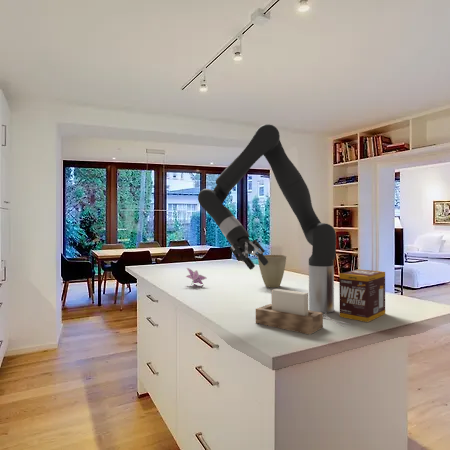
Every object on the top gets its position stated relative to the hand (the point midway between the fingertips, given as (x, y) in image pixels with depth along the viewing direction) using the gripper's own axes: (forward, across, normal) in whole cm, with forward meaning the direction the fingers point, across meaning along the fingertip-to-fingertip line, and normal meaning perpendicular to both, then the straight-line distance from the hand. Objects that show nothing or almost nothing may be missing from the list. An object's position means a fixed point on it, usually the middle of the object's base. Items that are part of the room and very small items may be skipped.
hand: (259, 266), depth 126 cm
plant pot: (-3, +54, +36) cm, 65 cm away
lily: (-26, +31, +61) cm, 73 cm away
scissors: (+28, +13, -1) cm, 30 cm away
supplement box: (+33, +25, -6) cm, 42 cm away
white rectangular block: (+21, -2, +3) cm, 21 cm away
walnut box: (+22, -2, +4) cm, 22 cm away
